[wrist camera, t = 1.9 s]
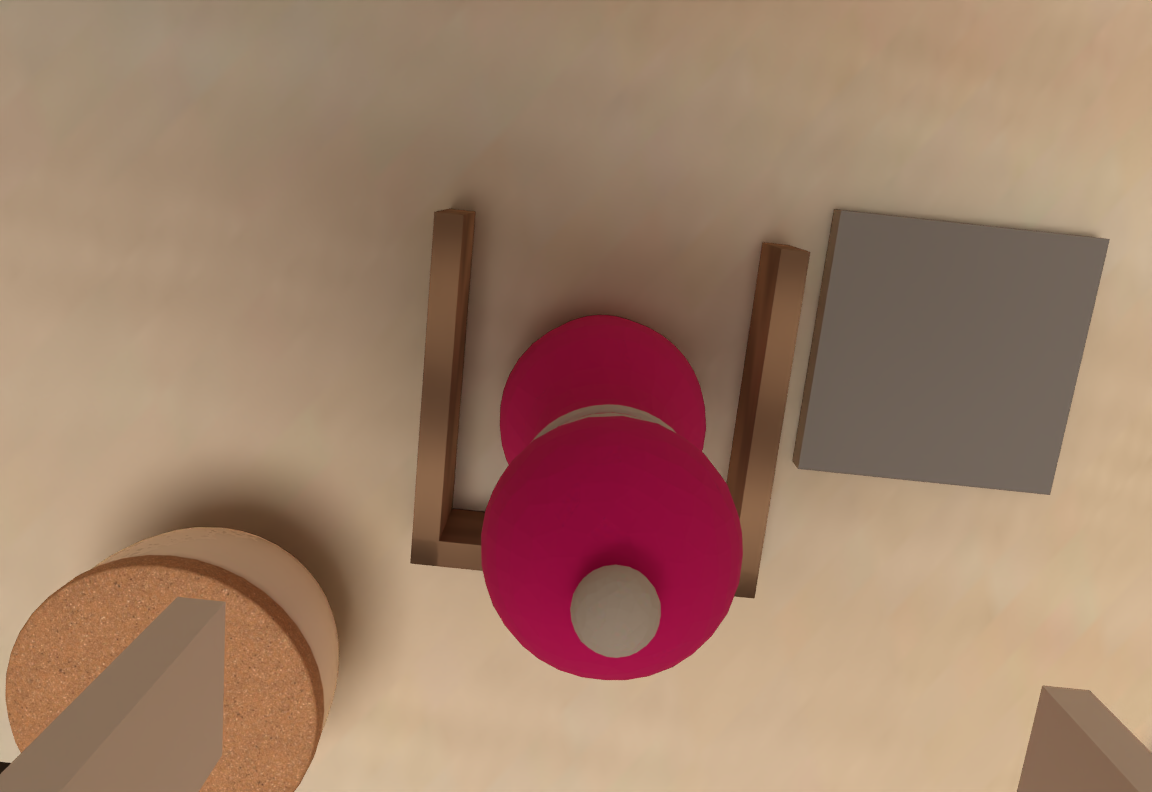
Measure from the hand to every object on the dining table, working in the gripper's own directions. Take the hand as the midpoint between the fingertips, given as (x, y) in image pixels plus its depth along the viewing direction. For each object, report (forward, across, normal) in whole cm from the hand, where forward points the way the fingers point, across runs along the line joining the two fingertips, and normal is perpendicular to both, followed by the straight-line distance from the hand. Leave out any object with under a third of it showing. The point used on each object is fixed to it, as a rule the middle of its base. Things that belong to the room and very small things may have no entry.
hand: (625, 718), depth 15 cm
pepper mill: (+23, 0, 0) cm, 23 cm away
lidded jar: (+23, -14, -11) cm, 29 cm away
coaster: (+22, +13, +3) cm, 26 cm away
